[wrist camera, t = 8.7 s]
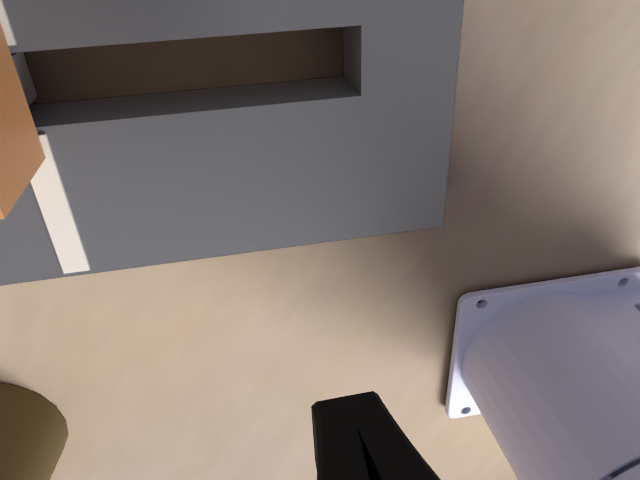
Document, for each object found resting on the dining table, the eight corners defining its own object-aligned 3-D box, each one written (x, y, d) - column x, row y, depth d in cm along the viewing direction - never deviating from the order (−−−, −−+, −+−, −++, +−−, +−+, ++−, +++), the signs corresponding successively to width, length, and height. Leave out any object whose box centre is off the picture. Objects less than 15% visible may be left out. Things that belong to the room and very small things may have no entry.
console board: (445, -190, 15) (498, -214, 12) (420, 196, 21) (451, 237, 18) (-292, -172, 12) (-430, -196, 10) (-71, 258, 19) (-117, 315, 16)
